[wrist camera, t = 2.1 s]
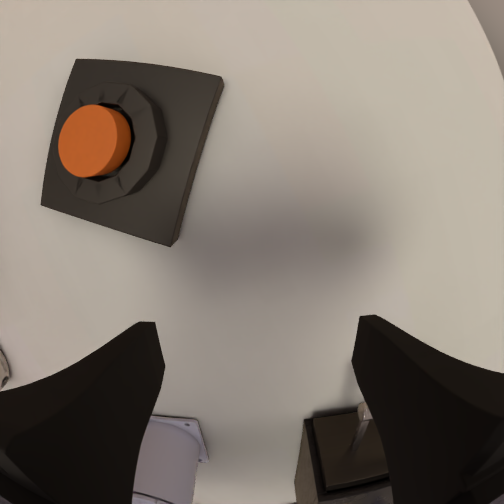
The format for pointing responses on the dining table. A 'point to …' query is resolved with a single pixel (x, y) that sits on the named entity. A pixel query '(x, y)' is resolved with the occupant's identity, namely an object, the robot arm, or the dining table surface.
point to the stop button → (94, 141)
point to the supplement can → (3, 371)
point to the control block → (136, 146)
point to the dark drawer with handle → (349, 450)
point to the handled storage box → (311, 483)
